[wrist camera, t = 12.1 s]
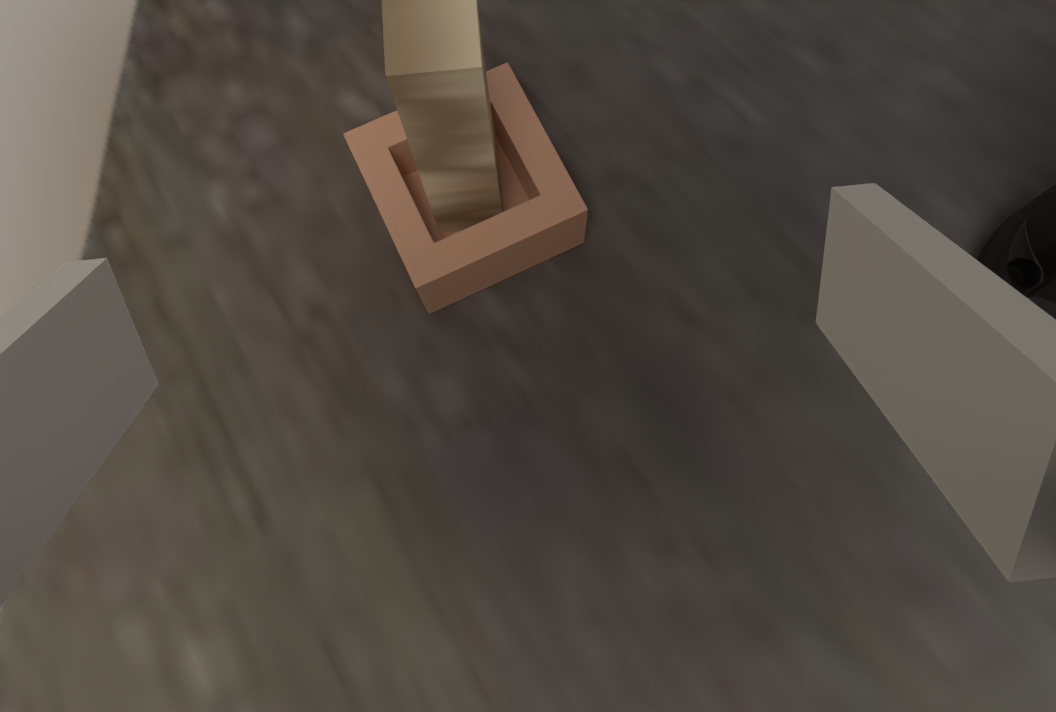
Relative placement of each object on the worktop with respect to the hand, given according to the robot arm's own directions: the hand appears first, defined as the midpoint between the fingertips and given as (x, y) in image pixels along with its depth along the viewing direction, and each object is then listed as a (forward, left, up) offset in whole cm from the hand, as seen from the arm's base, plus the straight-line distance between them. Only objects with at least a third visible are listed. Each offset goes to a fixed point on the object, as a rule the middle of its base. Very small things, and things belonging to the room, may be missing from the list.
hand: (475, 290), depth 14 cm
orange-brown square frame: (-3, -11, -20) cm, 23 cm away
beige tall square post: (-3, -11, -19) cm, 22 cm away
